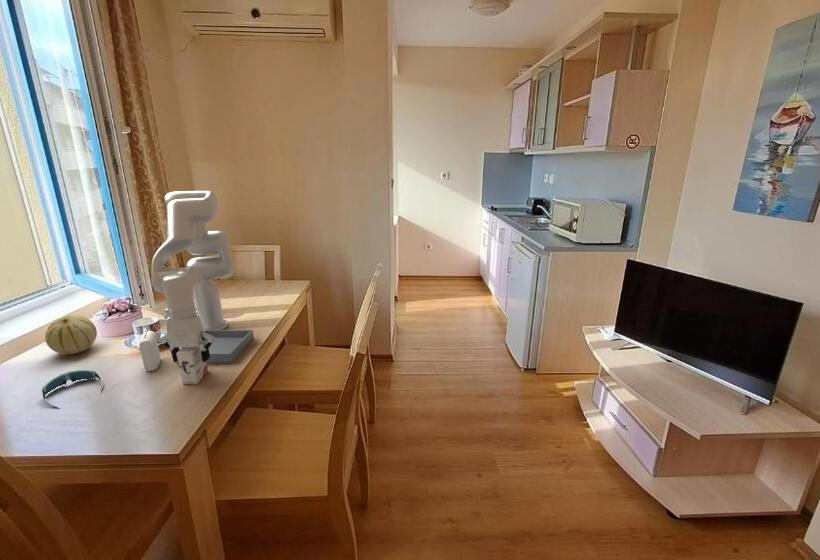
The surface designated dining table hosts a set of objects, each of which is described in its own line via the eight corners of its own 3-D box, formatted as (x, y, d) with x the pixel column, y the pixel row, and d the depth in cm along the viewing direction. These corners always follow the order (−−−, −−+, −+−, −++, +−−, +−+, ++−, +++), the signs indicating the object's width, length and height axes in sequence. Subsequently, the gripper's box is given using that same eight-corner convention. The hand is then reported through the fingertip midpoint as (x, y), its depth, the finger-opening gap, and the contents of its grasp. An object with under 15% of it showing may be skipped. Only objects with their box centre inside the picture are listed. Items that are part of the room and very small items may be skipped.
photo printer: (148, 359, 142) (141, 329, 138) (162, 357, 143) (155, 326, 140) (144, 373, 133) (136, 340, 129) (158, 370, 134) (151, 338, 131)
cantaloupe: (93, 339, 157) (83, 305, 153) (107, 349, 149) (97, 313, 145) (46, 354, 146) (34, 318, 141) (58, 365, 138) (45, 327, 133)
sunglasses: (95, 375, 132) (92, 363, 130) (110, 396, 124) (107, 383, 122) (40, 394, 121) (36, 381, 120) (52, 418, 113) (48, 405, 111)
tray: (176, 363, 139) (174, 353, 138) (206, 338, 158) (204, 329, 157) (231, 363, 138) (229, 354, 137) (254, 338, 157) (252, 329, 156)
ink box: (194, 371, 134) (187, 340, 130) (208, 370, 134) (202, 339, 131) (182, 385, 126) (175, 352, 122) (197, 384, 126) (191, 352, 122)
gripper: (148, 316, 119) (159, 365, 124) (202, 316, 119) (211, 365, 124) (163, 308, 126) (173, 354, 131) (215, 307, 126) (223, 354, 131)
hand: (191, 360), depth 127 cm, fingers open, 9 cm apart
